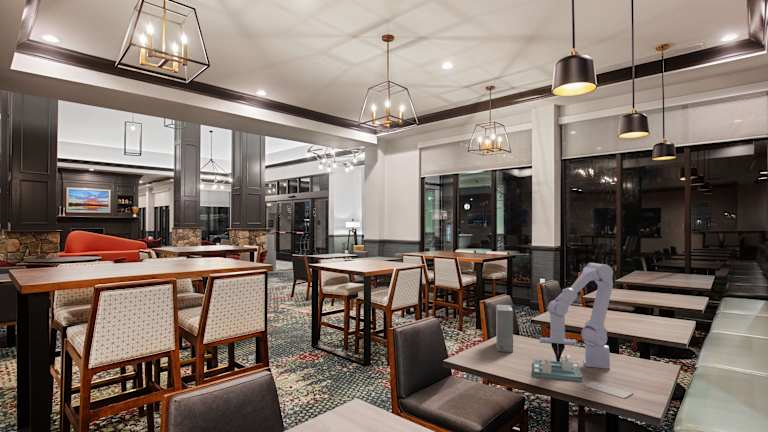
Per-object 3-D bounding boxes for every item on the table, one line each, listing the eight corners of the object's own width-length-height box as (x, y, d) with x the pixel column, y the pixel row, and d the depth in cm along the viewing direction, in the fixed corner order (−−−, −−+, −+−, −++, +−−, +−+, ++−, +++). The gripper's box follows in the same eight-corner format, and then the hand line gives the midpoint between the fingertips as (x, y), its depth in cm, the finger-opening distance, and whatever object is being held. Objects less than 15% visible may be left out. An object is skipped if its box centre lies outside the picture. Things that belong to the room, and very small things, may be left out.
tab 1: (550, 371, 170) (550, 360, 170) (551, 374, 167) (551, 363, 167) (541, 370, 171) (541, 359, 171) (542, 373, 168) (541, 362, 168)
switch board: (578, 367, 178) (578, 363, 178) (582, 381, 162) (582, 377, 162) (533, 362, 184) (533, 359, 184) (533, 376, 168) (533, 372, 168)
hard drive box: (513, 352, 198) (513, 311, 199) (497, 351, 200) (496, 310, 200) (511, 343, 213) (510, 304, 214) (496, 342, 215) (495, 304, 215)
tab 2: (570, 364, 178) (569, 354, 178) (570, 367, 174) (570, 356, 174) (561, 363, 179) (561, 353, 179) (561, 366, 176) (561, 355, 176)
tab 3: (571, 369, 173) (570, 357, 173) (571, 372, 169) (571, 360, 169) (561, 368, 174) (561, 357, 174) (562, 371, 170) (562, 359, 171)
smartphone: (625, 398, 146) (583, 385, 158) (625, 400, 146) (583, 386, 158) (633, 393, 150) (592, 381, 162) (633, 395, 150) (592, 382, 162)
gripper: (575, 328, 179) (575, 359, 179) (539, 325, 184) (539, 356, 184) (576, 332, 173) (577, 365, 172) (539, 329, 178) (540, 361, 177)
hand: (558, 361), depth 178 cm, fingers closed
